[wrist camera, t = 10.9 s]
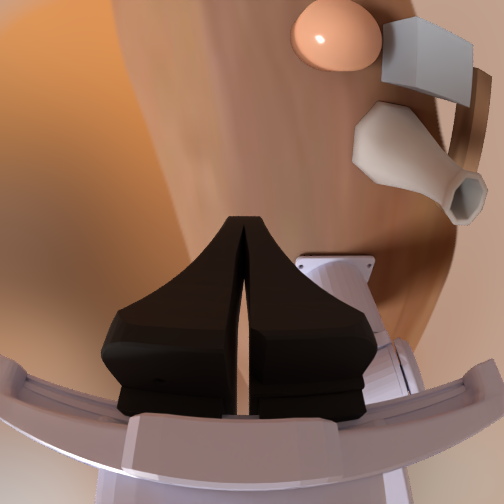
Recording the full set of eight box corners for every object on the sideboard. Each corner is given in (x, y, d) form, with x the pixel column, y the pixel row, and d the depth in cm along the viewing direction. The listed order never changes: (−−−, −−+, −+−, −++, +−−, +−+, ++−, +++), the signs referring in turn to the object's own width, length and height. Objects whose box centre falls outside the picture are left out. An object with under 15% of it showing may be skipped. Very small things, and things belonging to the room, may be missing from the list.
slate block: (431, 95, 15) (469, 107, 11) (380, 81, 15) (415, 87, 11) (434, 43, 12) (473, 44, 8) (382, 24, 12) (417, 16, 8)
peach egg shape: (356, 76, 15) (380, 78, 12) (289, 67, 15) (298, 64, 12) (358, 18, 12) (381, 8, 9) (290, 6, 12) (299, -9, 9)
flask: (336, 166, 20) (391, 238, 12) (369, 85, 16) (455, 105, 8) (404, 195, 21) (466, 266, 13) (436, 126, 17) (520, 172, 9)
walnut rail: (448, 205, 21) (462, 218, 19) (435, 204, 21) (448, 217, 19) (473, 72, 13) (491, 76, 11) (459, 65, 13) (477, 68, 11)
